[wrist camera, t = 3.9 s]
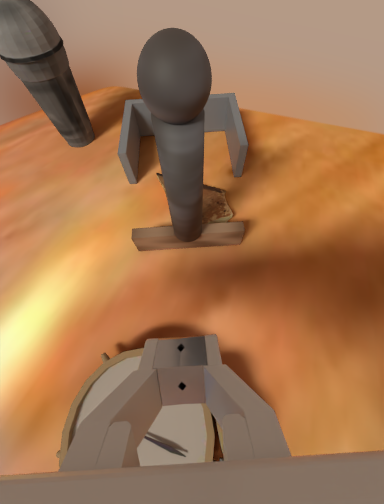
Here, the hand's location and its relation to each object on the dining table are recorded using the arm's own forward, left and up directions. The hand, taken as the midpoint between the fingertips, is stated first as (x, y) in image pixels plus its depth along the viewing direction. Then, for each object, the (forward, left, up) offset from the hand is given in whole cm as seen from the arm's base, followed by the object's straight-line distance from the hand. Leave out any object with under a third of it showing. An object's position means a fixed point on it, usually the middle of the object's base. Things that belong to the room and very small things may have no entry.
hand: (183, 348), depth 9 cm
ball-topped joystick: (0, -12, -12) cm, 17 cm away
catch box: (0, -28, -12) cm, 31 cm away
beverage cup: (+17, -33, -12) cm, 39 cm away
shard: (0, -17, -13) cm, 22 cm away
